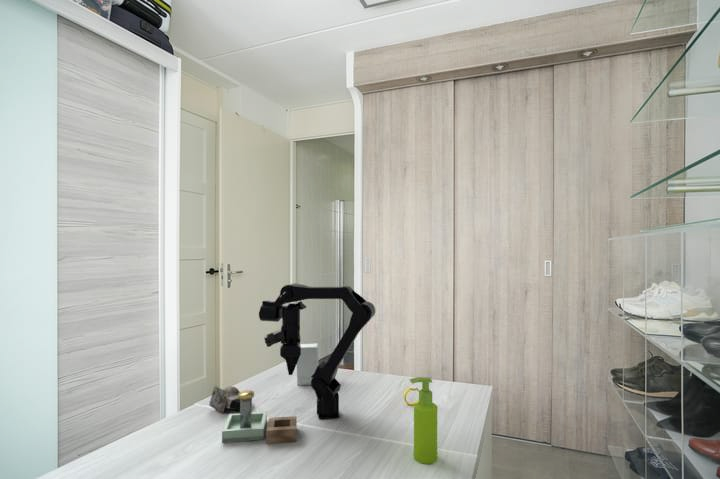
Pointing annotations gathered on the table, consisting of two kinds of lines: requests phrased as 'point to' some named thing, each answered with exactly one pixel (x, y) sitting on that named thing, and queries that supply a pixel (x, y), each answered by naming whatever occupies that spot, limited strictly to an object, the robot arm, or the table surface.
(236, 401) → the caster wheel
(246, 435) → the tray
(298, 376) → the skincare box
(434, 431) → the soap dispenser
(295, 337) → the robot arm
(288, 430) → the socket block
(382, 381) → the table surface
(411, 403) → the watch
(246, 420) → the pin
